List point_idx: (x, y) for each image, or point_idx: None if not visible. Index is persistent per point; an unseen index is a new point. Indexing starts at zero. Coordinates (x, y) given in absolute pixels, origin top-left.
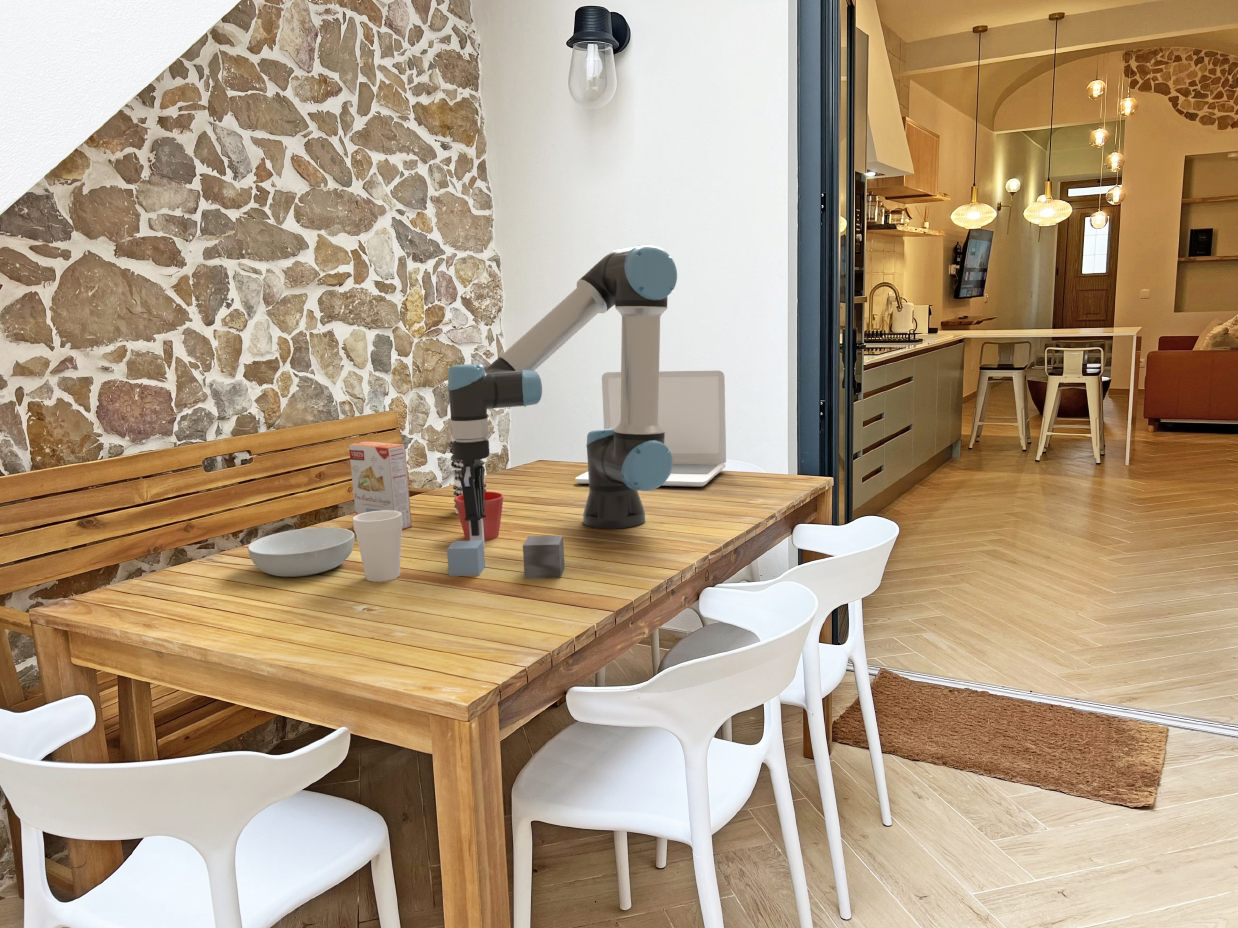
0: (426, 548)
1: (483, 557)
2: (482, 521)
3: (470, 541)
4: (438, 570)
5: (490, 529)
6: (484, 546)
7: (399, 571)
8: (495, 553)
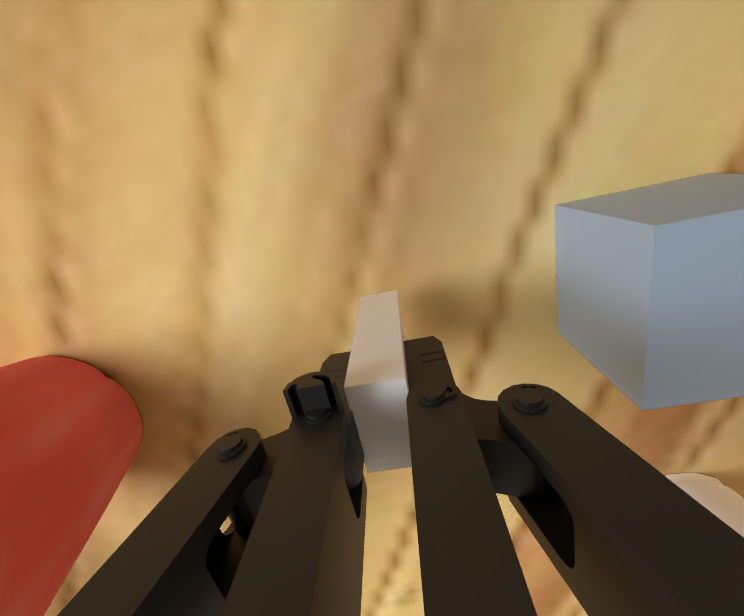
0: None
1: (614, 206)
2: (367, 371)
3: (670, 308)
4: (573, 390)
5: (62, 390)
6: (365, 299)
7: (690, 494)
8: (297, 259)
